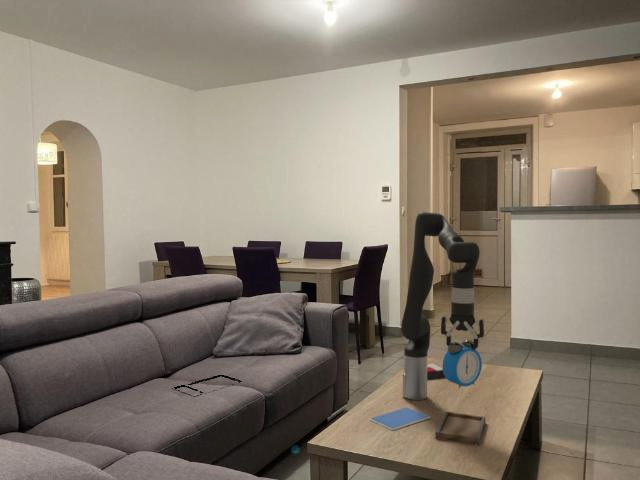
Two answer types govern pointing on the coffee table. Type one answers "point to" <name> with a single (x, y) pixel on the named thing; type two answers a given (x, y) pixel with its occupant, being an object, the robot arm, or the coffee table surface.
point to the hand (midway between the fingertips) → (462, 348)
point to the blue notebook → (399, 418)
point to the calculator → (434, 371)
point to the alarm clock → (462, 363)
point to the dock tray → (461, 428)
